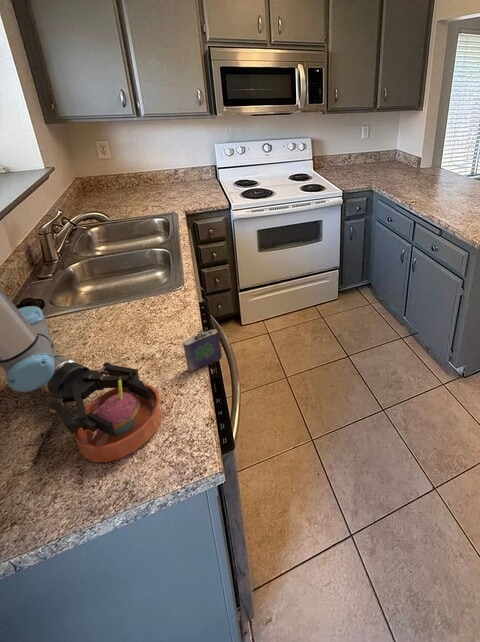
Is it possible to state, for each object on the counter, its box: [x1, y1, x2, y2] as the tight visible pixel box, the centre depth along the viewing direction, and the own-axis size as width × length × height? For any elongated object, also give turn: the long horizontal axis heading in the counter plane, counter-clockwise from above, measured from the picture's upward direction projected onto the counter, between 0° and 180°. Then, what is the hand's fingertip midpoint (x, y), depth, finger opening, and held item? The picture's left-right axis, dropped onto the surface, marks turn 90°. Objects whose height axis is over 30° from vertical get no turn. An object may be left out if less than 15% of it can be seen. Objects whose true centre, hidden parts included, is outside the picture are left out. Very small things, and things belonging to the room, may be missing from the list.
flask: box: [182, 328, 223, 373], centre depth 95 cm, size 9×3×11 cm, turn 125°
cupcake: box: [96, 377, 140, 435], centre depth 77 cm, size 9×8×12 cm
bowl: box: [74, 382, 163, 463], centre depth 78 cm, size 16×16×4 cm
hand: (131, 410), depth 75 cm, fingers open, 8 cm apart
